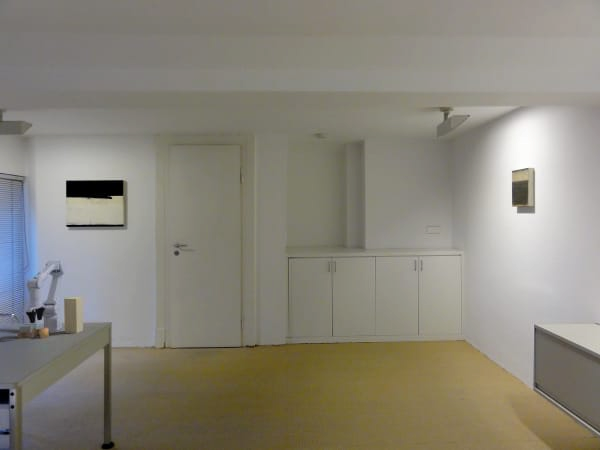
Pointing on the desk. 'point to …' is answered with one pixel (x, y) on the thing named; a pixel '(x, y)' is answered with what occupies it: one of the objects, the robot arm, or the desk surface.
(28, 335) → the brown square box
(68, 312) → the tan wooden block
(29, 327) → the slate block
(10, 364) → the desk surface
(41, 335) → the orange capsule
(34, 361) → the desk surface
